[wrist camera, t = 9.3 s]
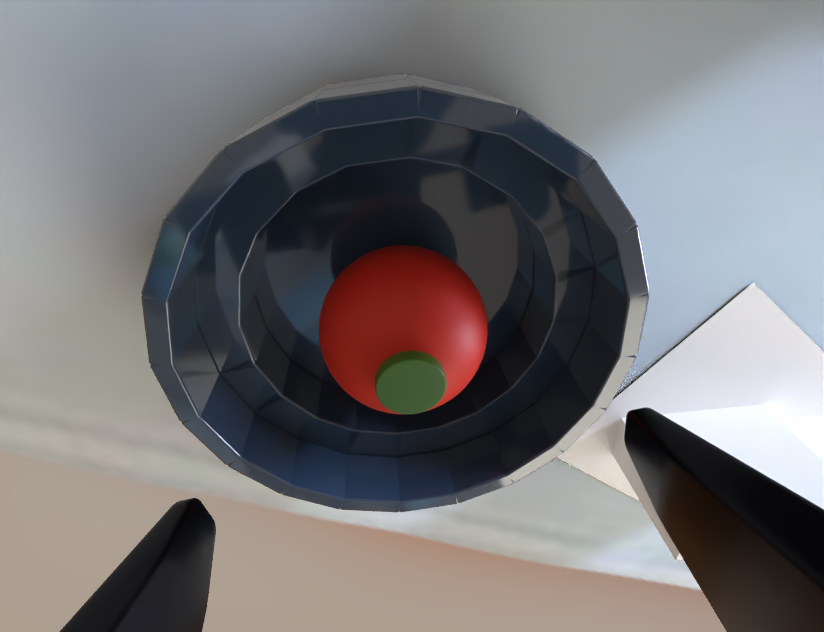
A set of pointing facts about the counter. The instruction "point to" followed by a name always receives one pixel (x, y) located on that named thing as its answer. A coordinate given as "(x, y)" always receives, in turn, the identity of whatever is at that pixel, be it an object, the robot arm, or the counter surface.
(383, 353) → the tomato
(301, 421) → the bowl
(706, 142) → the counter surface
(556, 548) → the counter surface
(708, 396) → the napkin holder
